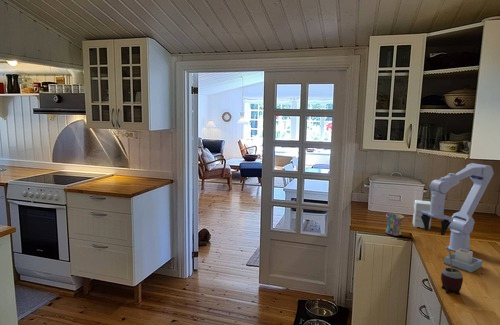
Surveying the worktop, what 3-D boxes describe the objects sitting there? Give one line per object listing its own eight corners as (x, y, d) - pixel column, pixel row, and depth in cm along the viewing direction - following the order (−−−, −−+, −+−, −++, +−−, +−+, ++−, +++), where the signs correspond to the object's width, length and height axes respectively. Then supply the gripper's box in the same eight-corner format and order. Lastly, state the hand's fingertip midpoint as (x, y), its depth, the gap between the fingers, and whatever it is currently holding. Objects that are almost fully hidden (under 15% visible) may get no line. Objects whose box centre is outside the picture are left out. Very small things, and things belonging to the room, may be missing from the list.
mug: (384, 230, 198) (386, 212, 196) (402, 233, 194) (404, 214, 192) (383, 236, 187) (384, 217, 186) (401, 239, 183) (403, 220, 182)
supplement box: (412, 223, 214) (414, 199, 212) (428, 224, 211) (430, 201, 209) (413, 227, 205) (416, 202, 203) (430, 229, 202) (432, 204, 200)
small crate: (459, 260, 155) (460, 248, 155) (471, 264, 151) (472, 251, 151) (454, 263, 152) (455, 250, 152) (466, 267, 148) (468, 254, 148)
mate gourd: (456, 297, 124) (460, 257, 122) (433, 288, 130) (437, 250, 128) (465, 292, 128) (469, 253, 126) (443, 283, 134) (447, 246, 132)
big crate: (455, 258, 160) (455, 252, 159) (481, 266, 151) (482, 260, 151) (443, 263, 153) (444, 257, 153) (470, 272, 145) (471, 266, 144)
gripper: (418, 202, 167) (415, 229, 168) (449, 209, 155) (446, 238, 157) (425, 201, 171) (422, 227, 172) (456, 207, 159) (453, 235, 161)
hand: (434, 232), depth 165 cm, fingers open, 7 cm apart
